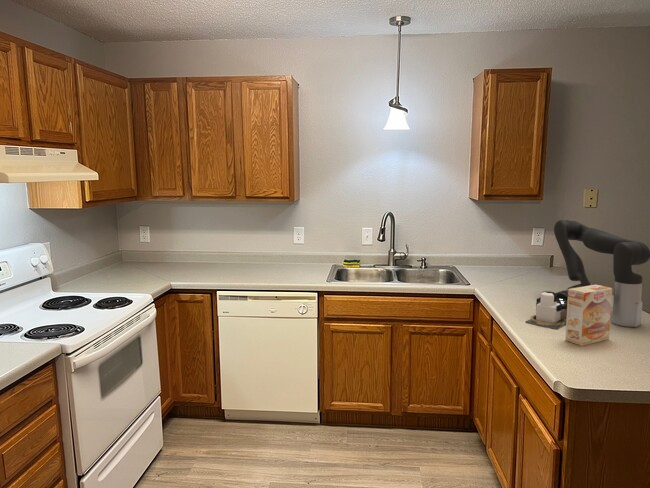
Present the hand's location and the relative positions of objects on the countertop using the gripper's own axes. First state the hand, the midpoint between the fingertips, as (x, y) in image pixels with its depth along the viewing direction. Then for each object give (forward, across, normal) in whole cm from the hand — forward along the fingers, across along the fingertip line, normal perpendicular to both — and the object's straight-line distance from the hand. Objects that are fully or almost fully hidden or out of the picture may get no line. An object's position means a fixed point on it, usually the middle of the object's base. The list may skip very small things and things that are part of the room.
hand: (547, 307), depth 191 cm
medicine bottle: (-1, 0, +6) cm, 6 cm away
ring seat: (-1, 0, +7) cm, 7 cm away
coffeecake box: (+9, +19, +7) cm, 22 cm away
